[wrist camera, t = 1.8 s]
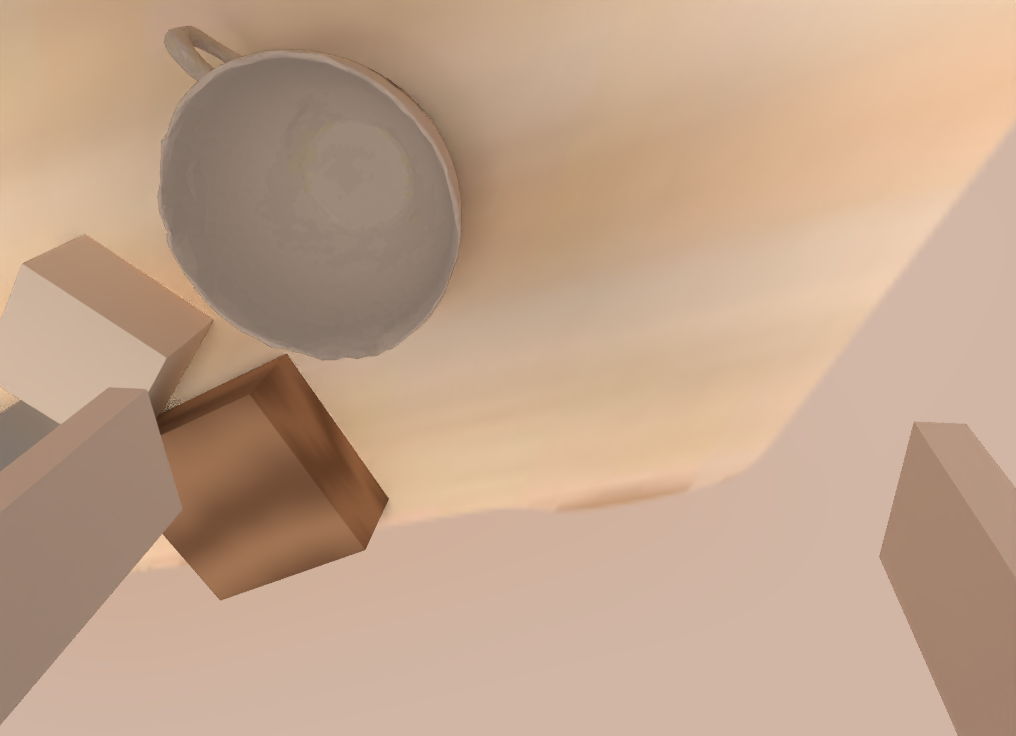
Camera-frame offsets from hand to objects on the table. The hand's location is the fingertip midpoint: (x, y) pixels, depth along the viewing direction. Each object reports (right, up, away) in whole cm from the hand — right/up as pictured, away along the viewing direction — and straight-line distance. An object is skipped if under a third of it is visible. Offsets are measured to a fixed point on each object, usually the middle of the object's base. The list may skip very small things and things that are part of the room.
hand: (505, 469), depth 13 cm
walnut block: (-15, -4, +33) cm, 36 cm away
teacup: (-8, +12, +23) cm, 27 cm away
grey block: (-22, +4, +30) cm, 37 cm away
